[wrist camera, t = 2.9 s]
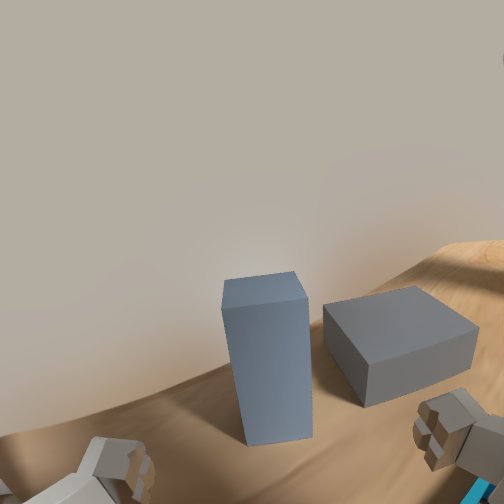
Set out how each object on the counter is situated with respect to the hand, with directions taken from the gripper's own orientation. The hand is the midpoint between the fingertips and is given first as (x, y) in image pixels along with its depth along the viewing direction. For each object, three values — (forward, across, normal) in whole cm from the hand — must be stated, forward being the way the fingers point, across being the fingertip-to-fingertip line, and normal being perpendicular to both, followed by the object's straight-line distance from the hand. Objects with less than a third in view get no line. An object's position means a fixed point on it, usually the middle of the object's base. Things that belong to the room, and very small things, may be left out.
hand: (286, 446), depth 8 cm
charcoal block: (+19, -13, +12) cm, 27 cm away
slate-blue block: (+13, 0, +12) cm, 18 cm away
